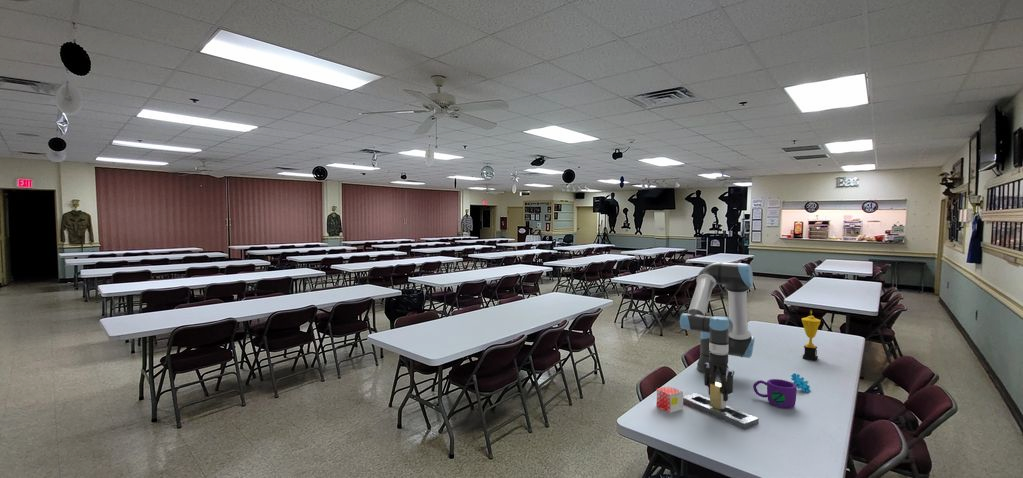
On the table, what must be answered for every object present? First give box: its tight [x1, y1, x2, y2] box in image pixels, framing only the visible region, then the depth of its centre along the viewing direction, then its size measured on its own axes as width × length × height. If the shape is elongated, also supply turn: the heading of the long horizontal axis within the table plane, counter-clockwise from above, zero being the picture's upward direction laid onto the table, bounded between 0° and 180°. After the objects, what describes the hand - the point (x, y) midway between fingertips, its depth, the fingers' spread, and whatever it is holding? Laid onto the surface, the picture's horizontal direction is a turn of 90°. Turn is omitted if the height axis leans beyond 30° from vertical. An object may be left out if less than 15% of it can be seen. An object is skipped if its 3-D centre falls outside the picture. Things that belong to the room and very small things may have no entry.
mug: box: [752, 378, 798, 410], centre depth 194 cm, size 17×11×10 cm, turn 45°
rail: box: [683, 392, 760, 431], centre depth 184 cm, size 30×10×2 cm, turn 29°
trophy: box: [801, 310, 821, 362], centre depth 258 cm, size 19×10×30 cm, turn 138°
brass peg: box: [709, 381, 724, 411], centre depth 184 cm, size 4×4×10 cm
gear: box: [790, 372, 811, 394], centre depth 210 cm, size 11×6×10 cm
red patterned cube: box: [656, 385, 684, 414], centre depth 189 cm, size 8×8×8 cm
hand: (717, 405), depth 184 cm, fingers closed on brass peg, 4 cm apart
